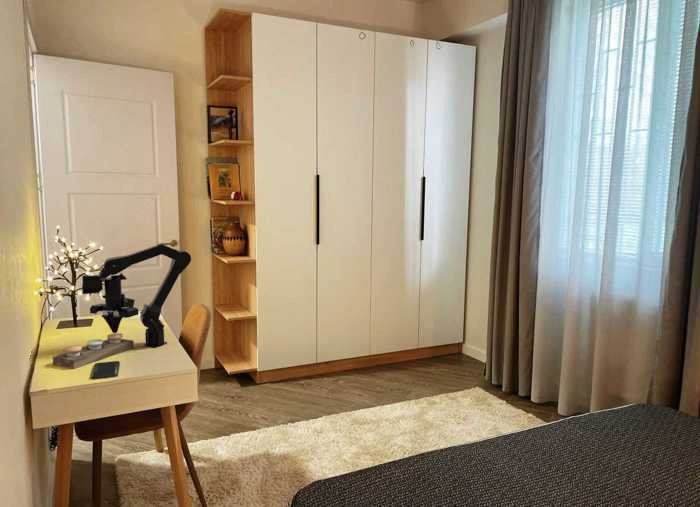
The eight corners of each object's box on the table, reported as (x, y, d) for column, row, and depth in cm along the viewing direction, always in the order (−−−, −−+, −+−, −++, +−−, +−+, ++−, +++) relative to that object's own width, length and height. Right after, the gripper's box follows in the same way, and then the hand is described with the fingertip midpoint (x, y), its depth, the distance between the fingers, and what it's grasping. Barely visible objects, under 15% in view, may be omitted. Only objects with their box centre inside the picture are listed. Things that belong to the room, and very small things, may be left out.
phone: (119, 360, 182) (117, 374, 168) (119, 363, 182) (117, 377, 168) (94, 363, 179) (90, 377, 165) (94, 366, 179) (90, 380, 165)
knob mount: (133, 348, 199) (133, 340, 199) (74, 368, 175) (73, 360, 175) (114, 345, 203) (113, 337, 202) (53, 364, 179) (52, 356, 179)
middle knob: (106, 350, 190) (106, 340, 190) (94, 354, 185) (94, 344, 185) (96, 348, 192) (95, 338, 192) (84, 352, 187) (83, 342, 187)
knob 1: (85, 357, 182) (85, 346, 182) (72, 361, 177) (71, 350, 177) (74, 355, 184) (74, 345, 184) (61, 359, 179) (61, 349, 179)
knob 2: (125, 344, 198) (125, 334, 198) (114, 347, 194) (114, 337, 193) (115, 342, 200) (115, 332, 200) (104, 346, 196) (104, 336, 195)
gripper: (148, 290, 199) (150, 330, 200) (111, 286, 206) (113, 325, 208) (125, 295, 188) (127, 337, 190) (87, 291, 196) (89, 332, 197)
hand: (115, 332), depth 197 cm, fingers closed
